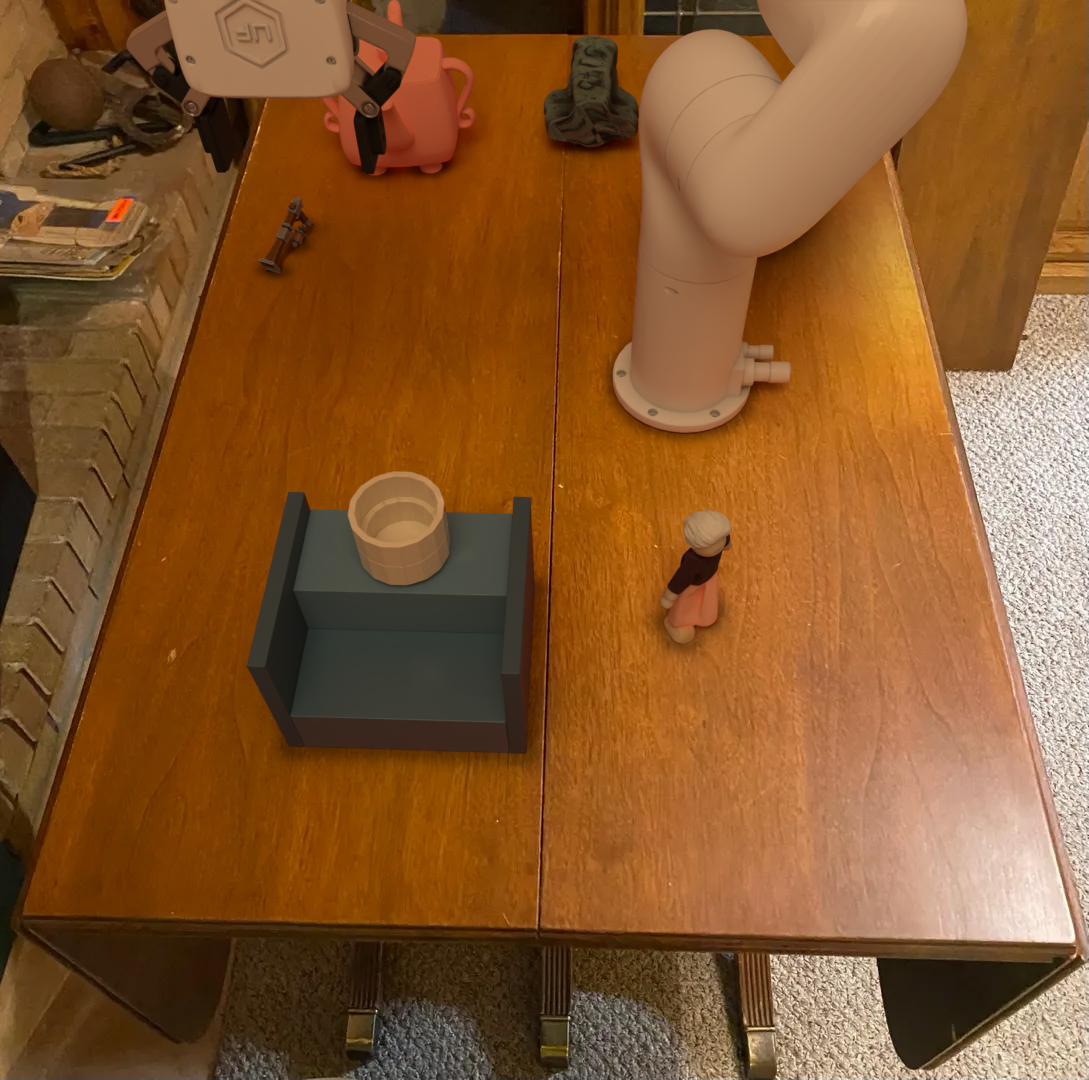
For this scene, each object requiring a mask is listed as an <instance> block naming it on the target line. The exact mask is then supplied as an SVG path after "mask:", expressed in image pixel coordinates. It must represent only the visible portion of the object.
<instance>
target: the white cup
mask: <svg viewBox="0 0 1089 1080" xmlns="http://www.w3.org/2000/svg"><path fill="white" fill-rule="evenodd" d="M347 510H348V519H349V522H350V526H351V529H352V532H353V536H354V539H355V543H356V546H357V550H358V553H359V557H360V560H361V563H362V566H363V568H364V569H365V570H366V571H367V572H368V573H369V574H370V575H371V576H372V577H373V578H375V579H377V580H379V581H382V582H384V583H387V584H389V585H408V584H409V585H410V584H414V583H417V582H420V581H423V580H425V579H428V578H429V577H431V576H432V575H433V574H435V573H436V572H437V571H439V570H440V568H441V567H442V566H443V564H444V562H445V561H446V559H447V558H448V555H449V551H450V542H451V541H450V534H449V528H448V521H447V515H446V512H447V509H446V502H445V500H444V497H443V494H442V492H441V489H440V488H439V486H438V485H436V484H435V483H434V482H433V481H432V480H431V479H430V478H428V477H427V476H424V475H421V474H419V473H415V472H413V471H397V470H396V471H395V470H393V471H389V472H385V473H382V474H379V475H375V476H374V477H372V478H370V479H369V480H367V481H365V482H364V483H363V484H361V485H360V486H359V487H358V489H357V490H356V492H355V493H354V494H353V495H352V497H351V498H350V500H349V505H348V509H347Z"/></svg>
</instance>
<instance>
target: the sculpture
mask: <svg viewBox="0 0 1089 1080" xmlns="http://www.w3.org/2000/svg"><path fill="white" fill-rule="evenodd" d="M571 55H572V57H571V60H570V73H569V76H568V79H567V86H566V87H565V88H559V89H554V90H552V91H551V92H549V94H547V95H546V97H545V99H544V102H543V114H544V124H545V125H544V126H545V132H546V135H547V137H549V138H550V139H552V140H554V141H557V142H569V143H571V144H572V146H573V147H577V148H600V147H606V146H608V145H609V144H610V143H611V142H612V141H613V140H618V139H620V140H625V139H626V140H628V139H631V138H634V137H636V136H637V134H638V133H639V108H640V107H639V104H638V101H637V99H636V98H635V96H634V95H633V94H631V93H630V92H629V91H627V90H625V89H624V88H623V87H620V86H619V79H618V78H619V76H618V69H617V64H618V58H619V57H618V56H619V47H618V44H617V43H616V41H615V40H614V39H611V38H608V37H604V36H600V35H599V36H598V35H583V36H580V37H577V38H576V39H574V41H573V43H572V46H571Z"/></svg>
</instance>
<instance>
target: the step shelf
mask: <svg viewBox="0 0 1089 1080" xmlns="http://www.w3.org/2000/svg"><path fill="white" fill-rule="evenodd" d="M348 510H349V509H317V508H316V509H314V508H313V509H311V508H310V504H309V502H308V499H307V496H306V492H305V491H288V492H287V496H286V499H285V504H284V507H283V512H282V516H281V520H280V525H279V529H278V532H277V537H276V542H275V546H274V551H273V554H272V558H271V562H270V566H269V571H268V575H267V579H266V584H265V588H264V592H263V596H262V600H261V604H260V609H259V612H258V617H257V620H256V624H255V630H254V633H253V638H252V642H251V647H250V650H249V654H248V659H247V663H246V668H247V670H248V672H249V674H250V675H251V678H252V679H253V681H254V683H255V685H256V687H257V688H258V691H259V693H260V695H261V696H262V698H263V700H264V702H265V704H266V706H267V708H268V710H269V711H270V713H271V715H272V717H273V719H274V721H275V723H276V725H277V727H278V729H279V730H280V731H279V732H280V733H281V734H282V736H283V738H284V740H285V742H286V744H287V746H288V747H301V748H303V747H307V748H336V749H338V748H341V749H369V750H370V749H371V750H372V749H373V750H400V751H401V750H402V751H434V752H435V751H436V752H437V751H439V752H464V753H465V752H469V753H470V752H472V753H498V754H509V753H510V754H526V753H527V742H528V725H529V707H530V706H529V705H530V691H531V690H530V688H531V669H532V654H533V653H532V652H533V651H532V650H533V635H534V634H533V632H534V615H535V614H534V613H535V599H536V597H535V595H536V584H535V560H534V541H533V538H534V537H533V518H532V497H531V496H513V503H512V513H501V512H500V513H498V512H497V513H495V512H455V511H453V512H450V511H449V512H447V511H446V515H447V521H448V528H449V534H450V541H451V542H450V551H449V555H448V558H447V559H446V561H445V562H444V564H443V566H442V567H441V568H440V570H439V571H437V572H436V573H435V574H433V575H432V576H431V577H429V578H428V579H425V580H423V581H420V582H417V583H414V584H410V585H409V584H408V585H389V584H387V583H384V582H382V581H379V580H377V579H375V578H373V577H372V576H371V575H370V574H369V573H368V572H367V571H366V570H365V569H364V568H363V566H362V563H361V560H360V557H359V553H358V550H357V546H356V543H355V539H354V536H353V532H352V529H351V526H350V522H349V519H348Z"/></svg>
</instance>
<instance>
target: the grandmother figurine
mask: <svg viewBox="0 0 1089 1080" xmlns="http://www.w3.org/2000/svg"><path fill="white" fill-rule="evenodd" d="M683 525H684V526H683V527H684V528H683V535H684V542H685V543H686V545H687V546H688V547H689V548H688V549H687V550H686V551H685V552H684V553H683V554H682V556H681V558H680V562H679V567H677V569H676V571H675V572H674V574H673V575H672V577H671V579H670V580H669V582H668V583H667V586H666V588H665V589H664V591H663V595H662V596H661V597H660V599H659V605H660V607H661V608H662V609H664V610H669V611H668V614H667V616H665V617H664V619H663V626H664V628H665V629H666V632H667V633H668V634H669V636H670V638H671V639H672V640H673V641H674V642H675V643H677V644H681V645H685V644H688V643H690V642H692V641H694V639H695V637H696V633H697V631H696V628H695V626H699V627H709V626H711V625H713V624H714V623H715V622H717V619H718V613H719V577H718V575H719V574H718V570H719V564H720V562H721V558H722V554H723V552H729V551H730V550H731V549H732V547H733V541H732V539H731V532H732V527H733V526H732V524H731V521H730V520H729V519H728V517H727V516H726V515H724V514H722V513H721V512H719V511H716V510H711V509H703V510H699V511H694V512H692V513H691V514H689V515H687V516H686V517H685V518H684V519H683Z"/></svg>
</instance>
